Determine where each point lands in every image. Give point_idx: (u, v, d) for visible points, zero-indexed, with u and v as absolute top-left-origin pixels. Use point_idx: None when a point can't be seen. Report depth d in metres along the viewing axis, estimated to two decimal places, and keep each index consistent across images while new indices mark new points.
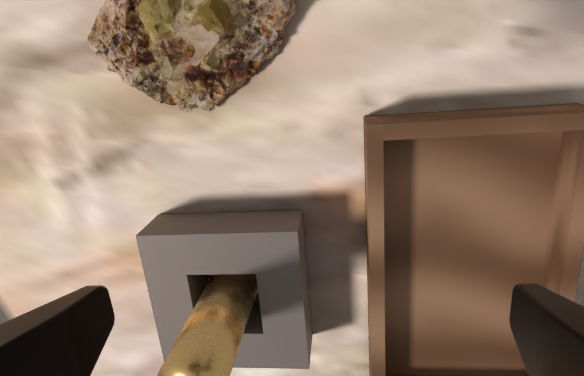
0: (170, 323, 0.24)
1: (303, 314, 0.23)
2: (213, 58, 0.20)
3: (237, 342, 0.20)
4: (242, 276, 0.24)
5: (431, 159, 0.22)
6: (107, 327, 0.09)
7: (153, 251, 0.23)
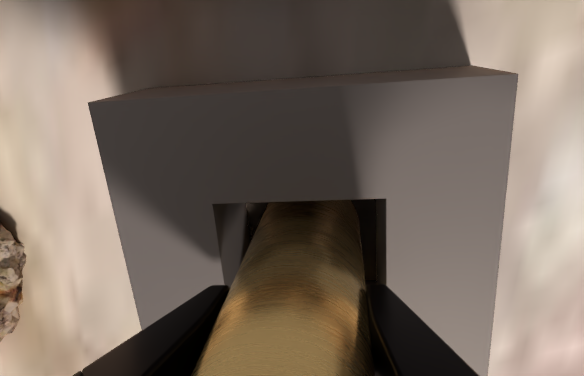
0: None
1: (320, 89, 0.08)
2: None
3: (272, 306, 0.06)
4: (258, 226, 0.11)
5: None
6: None
7: None
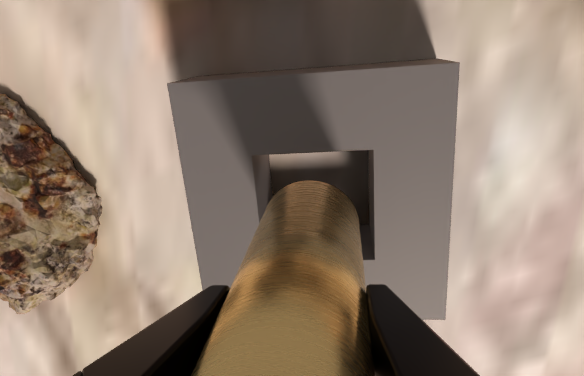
0: None
1: (328, 73, 0.12)
2: (13, 181, 0.17)
3: (272, 305, 0.06)
4: (259, 225, 0.11)
5: None
6: None
7: None
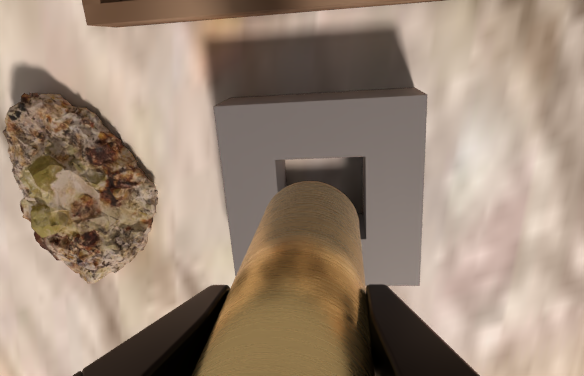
0: None
1: (332, 101, 0.17)
2: (93, 177, 0.21)
3: (272, 306, 0.06)
4: (258, 226, 0.11)
5: None
6: None
7: None
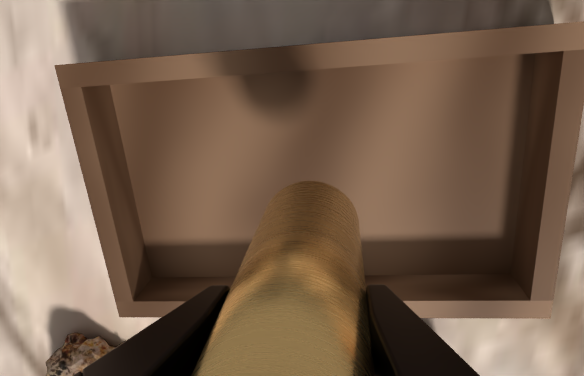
0: None
1: None
2: None
3: (272, 306, 0.06)
4: (258, 226, 0.11)
5: (174, 225, 0.18)
6: None
7: None
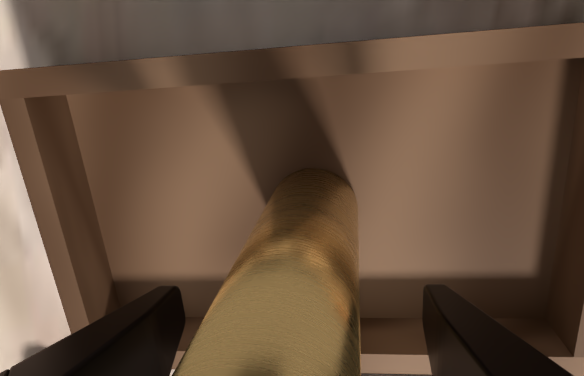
0: None
1: None
2: None
3: (273, 261, 0.08)
4: (266, 206, 0.12)
5: (147, 257, 0.15)
6: (180, 328, 0.09)
7: None
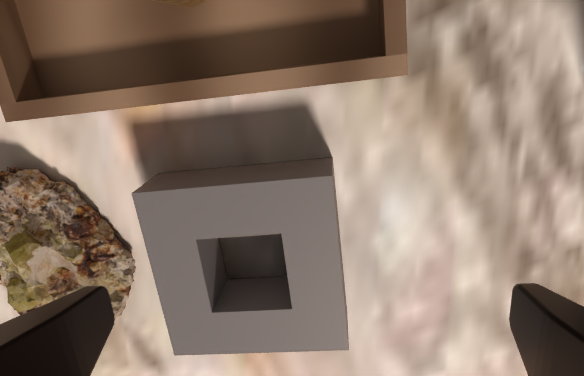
0: (281, 336, 0.20)
1: (243, 184, 0.18)
2: (70, 251, 0.21)
3: None
4: None
5: (58, 33, 0.19)
6: (107, 327, 0.09)
7: (188, 341, 0.21)
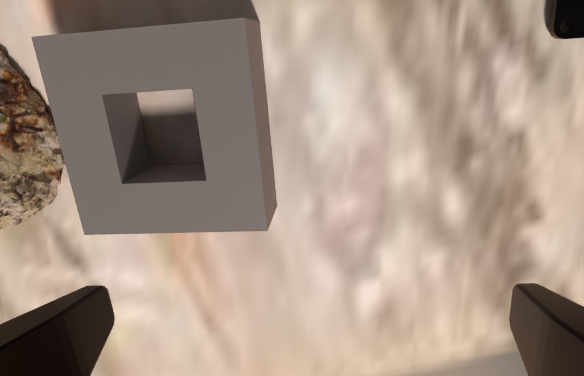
0: (196, 213, 0.19)
1: (150, 27, 0.16)
2: None
3: None
4: None
5: None
6: (107, 327, 0.09)
7: (98, 218, 0.19)
